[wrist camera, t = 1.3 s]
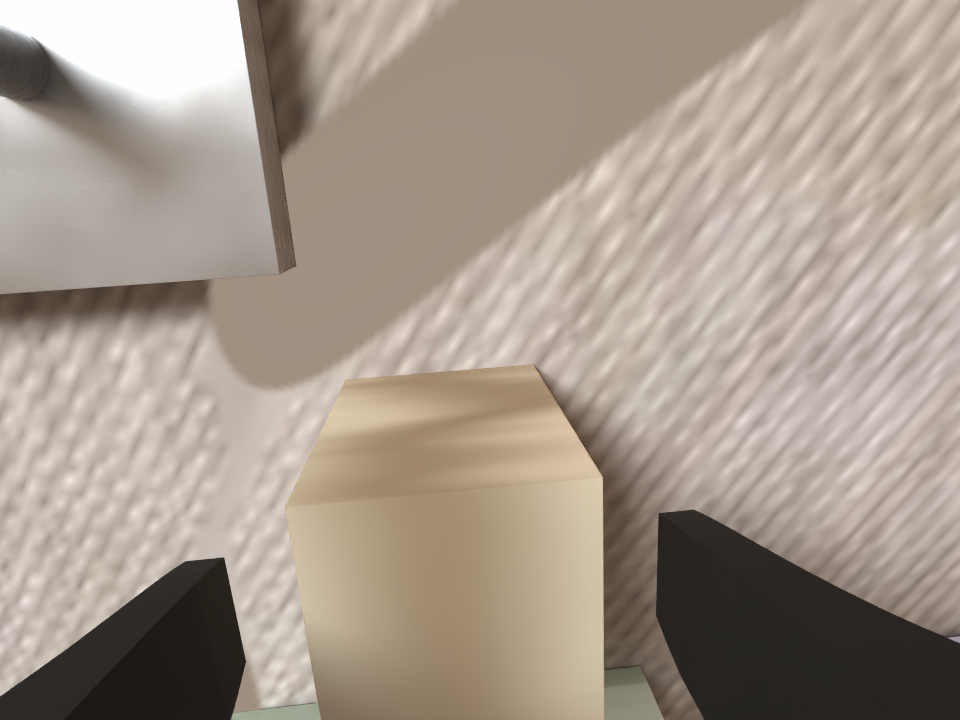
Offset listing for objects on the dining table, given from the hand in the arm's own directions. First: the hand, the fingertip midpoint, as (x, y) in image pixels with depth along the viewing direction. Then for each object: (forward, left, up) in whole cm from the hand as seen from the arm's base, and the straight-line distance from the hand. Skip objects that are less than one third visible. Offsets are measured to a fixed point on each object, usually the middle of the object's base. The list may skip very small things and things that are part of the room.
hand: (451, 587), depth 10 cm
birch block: (0, 0, -5) cm, 5 cm away
